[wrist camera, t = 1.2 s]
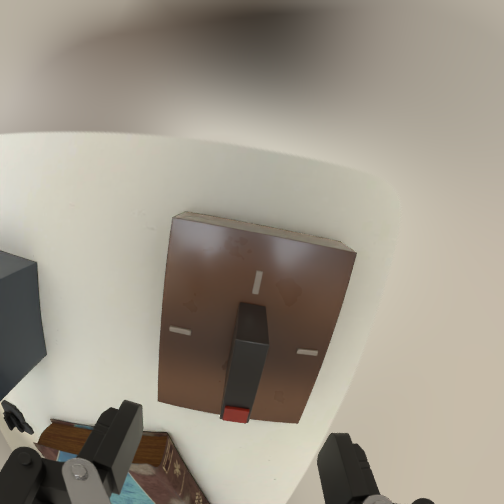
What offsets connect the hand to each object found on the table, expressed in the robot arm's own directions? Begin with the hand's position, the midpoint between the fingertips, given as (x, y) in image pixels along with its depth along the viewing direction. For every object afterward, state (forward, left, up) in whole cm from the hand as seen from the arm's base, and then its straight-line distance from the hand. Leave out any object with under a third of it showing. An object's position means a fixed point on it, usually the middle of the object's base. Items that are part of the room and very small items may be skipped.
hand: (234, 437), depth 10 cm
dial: (0, 0, -8) cm, 8 cm away
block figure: (+34, -19, -12) cm, 40 cm away
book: (+30, +1, -12) cm, 32 cm away
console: (0, 0, -12) cm, 12 cm away
